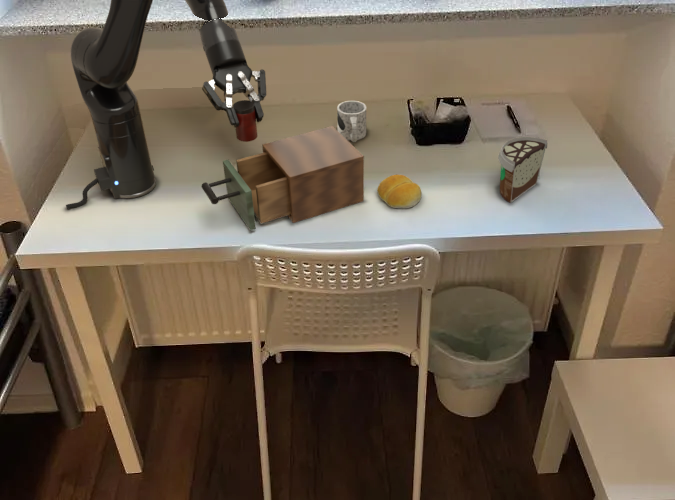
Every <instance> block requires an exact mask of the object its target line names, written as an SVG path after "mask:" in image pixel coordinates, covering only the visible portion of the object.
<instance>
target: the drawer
mask: <svg viewBox="0 0 675 500" xmlns="http://www.w3.org/2000/svg"><path fill="white" fill-rule="evenodd" d="M235 163H236V168H235V166H234V165H233V164H232V162H231V161H230V159H225V160H222V165H223V172H224V173H223V175H224V179H220V180H216V181H213V182H210V183H208V182H202V184H201V189H202V191H203V192H204V193H205V195H206V196H207V198H208V200H209V201H210V202H211V204H212V205H217V204H218V203H219V202H220V201H224V200H227V199H228V200H229V203H231V205H232V206H233V207H234V209H235V210H236V212H237V213H238V215H239V216H240V218H241V219H242V221H243V222H244V224H245V225H246V227H247V228H248V230H249V231H253V230H257V226H256V225H257V224H256V220H255V219H257V221H258V222H259V223H260V224H264V223H268V222H271V221H274V220H278V219H280V218H284V217H288V216H287V215H291V207H290V193H289V180H288V178H287V177H286V175H285V174H284V173H283V172H282V171H281V169H280V168H279V167H278V166H277V165H276V163H275V162H274V161H273V160H272V158H271V157H270V156H269V155H268V154H267V152H264V153H263V152H261V153H257V154H253V155H249V156H246V157H243V158H239V159H236V160H235ZM224 184H225V187H226V194H223V195H219V196H217V194H216V193H215V191H214V190H213V189H212V188H214V187H217V186H221V185H224Z"/></svg>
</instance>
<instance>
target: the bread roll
mask: <svg viewBox="0 0 675 500" xmlns="http://www.w3.org/2000/svg"><path fill="white" fill-rule="evenodd" d="M421 189H422V188H421V187H420V185H419V184H418V183H415V182H414V181H412V179H411V178H409V177H407V176H406V175H403V174H392V175H389V176H387V177H386V178H385V179H382V180H381V181H380V183H379V184H378V186H377V190H376V191H377V194H378V196H379V198H380V199H381V200H382V201H383V202H385V203H386V205H388V206H389V207H391V208H393V209H394V208H395V209H409V208H413V207H414V206H416V205H417V204H419V202H420V201H421V198H422V190H421Z"/></svg>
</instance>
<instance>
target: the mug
mask: <svg viewBox="0 0 675 500" xmlns="http://www.w3.org/2000/svg"><path fill="white" fill-rule="evenodd" d="M336 119H337V121H336V123H337V131H338V132H339V133H340V134H341V135H342V136H343V137H344V138H345V139H346V140H347V141H351V142H352V143H356V142H357V141H359V140H362V139H364V138H366V135H367V104H365V103H364V102H362V101H358V100H345V101H342V102H340V103H339V104H337V106H336Z"/></svg>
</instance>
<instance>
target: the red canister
mask: <svg viewBox="0 0 675 500" xmlns="http://www.w3.org/2000/svg"><path fill="white" fill-rule="evenodd" d="M232 107H234V109H235V112H236V115H237V118H238V121H239V127H237V128H235V136H236V140H238V141H239V142H242V143H249V142H252V141H255V140H256V139H257V138H258V126H257V120H256V115H255V105H254V103H253V102H252V101H249V99H243V100H238V101H236V102H234V103H232Z"/></svg>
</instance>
